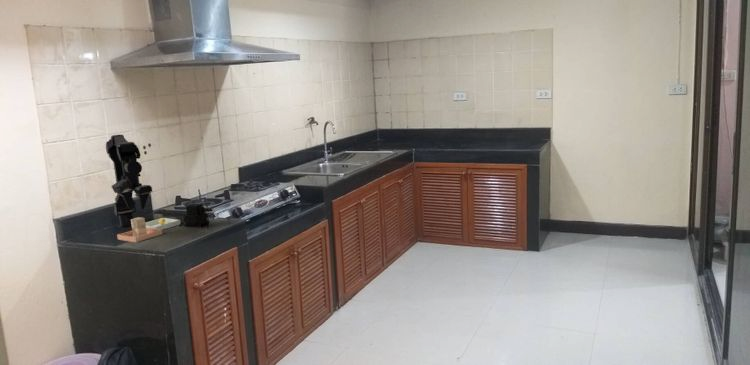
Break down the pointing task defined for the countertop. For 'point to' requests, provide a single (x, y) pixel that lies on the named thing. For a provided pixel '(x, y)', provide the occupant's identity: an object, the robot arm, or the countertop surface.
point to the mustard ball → (162, 221)
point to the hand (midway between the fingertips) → (136, 208)
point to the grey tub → (168, 224)
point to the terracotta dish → (129, 236)
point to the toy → (196, 216)
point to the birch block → (138, 226)
